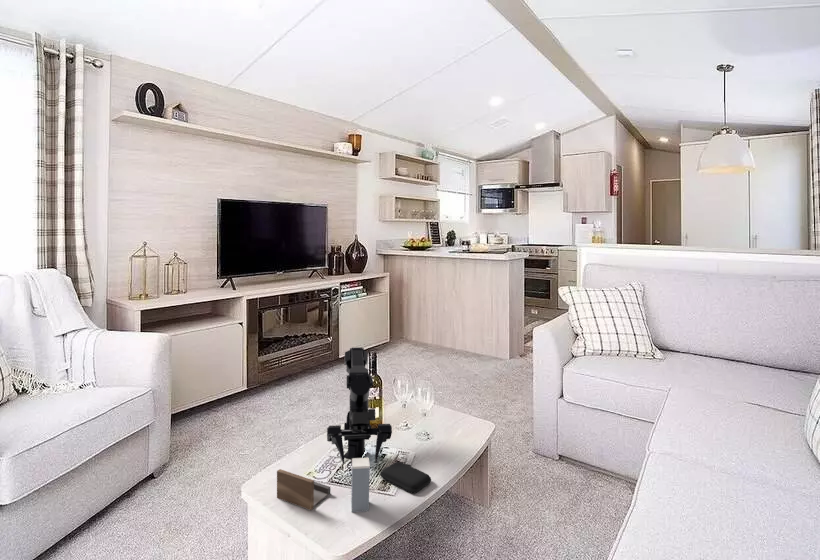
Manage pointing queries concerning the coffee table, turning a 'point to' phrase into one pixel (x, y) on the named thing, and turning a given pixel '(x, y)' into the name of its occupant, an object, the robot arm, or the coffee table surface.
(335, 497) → the coffee table surface
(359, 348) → the robot arm
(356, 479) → the white tall block
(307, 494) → the stand
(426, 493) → the coffee table surface
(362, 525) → the coffee table surface
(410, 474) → the carrying case or bag
